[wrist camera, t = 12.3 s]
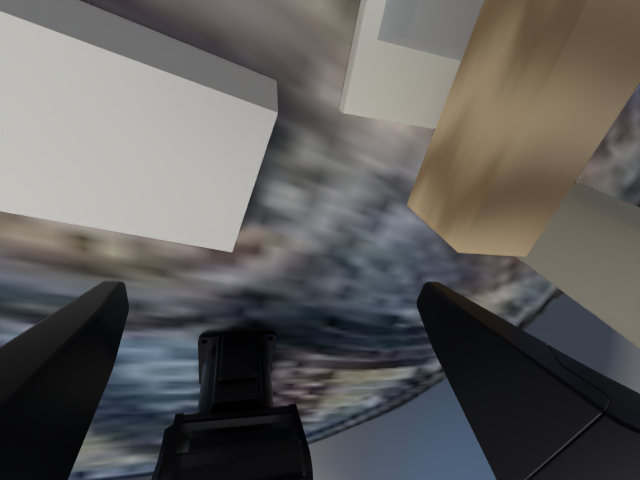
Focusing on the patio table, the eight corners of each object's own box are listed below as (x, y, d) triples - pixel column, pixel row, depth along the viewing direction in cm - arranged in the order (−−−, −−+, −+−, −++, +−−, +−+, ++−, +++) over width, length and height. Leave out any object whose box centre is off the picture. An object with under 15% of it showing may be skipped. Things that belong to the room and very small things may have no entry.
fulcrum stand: (495, 138, 21) (548, 155, 18) (338, 110, 18) (364, 125, 14) (579, -46, 17) (678, -74, 13) (386, -131, 13) (443, -203, 9)
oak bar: (619, -358, 9) (967, -738, 4) (700, -280, 10) (1033, -522, 6) (406, 205, 17) (458, 252, 13) (462, 211, 18) (525, 256, 14)
